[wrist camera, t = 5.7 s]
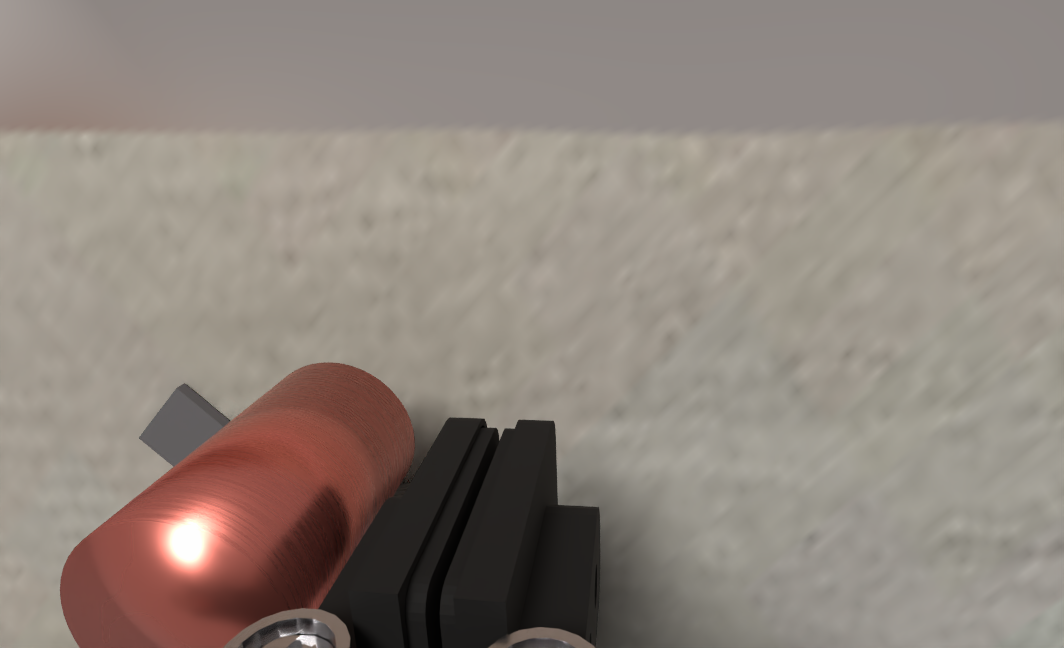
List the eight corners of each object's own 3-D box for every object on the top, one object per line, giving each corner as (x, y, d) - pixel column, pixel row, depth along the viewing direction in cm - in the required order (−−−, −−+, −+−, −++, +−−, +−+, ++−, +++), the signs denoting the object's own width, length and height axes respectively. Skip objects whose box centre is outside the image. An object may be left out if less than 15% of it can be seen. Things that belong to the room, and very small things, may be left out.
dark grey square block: (247, 435, 17) (240, 441, 17) (207, 481, 18) (200, 488, 17) (184, 383, 17) (176, 387, 16) (146, 432, 17) (138, 437, 17)
